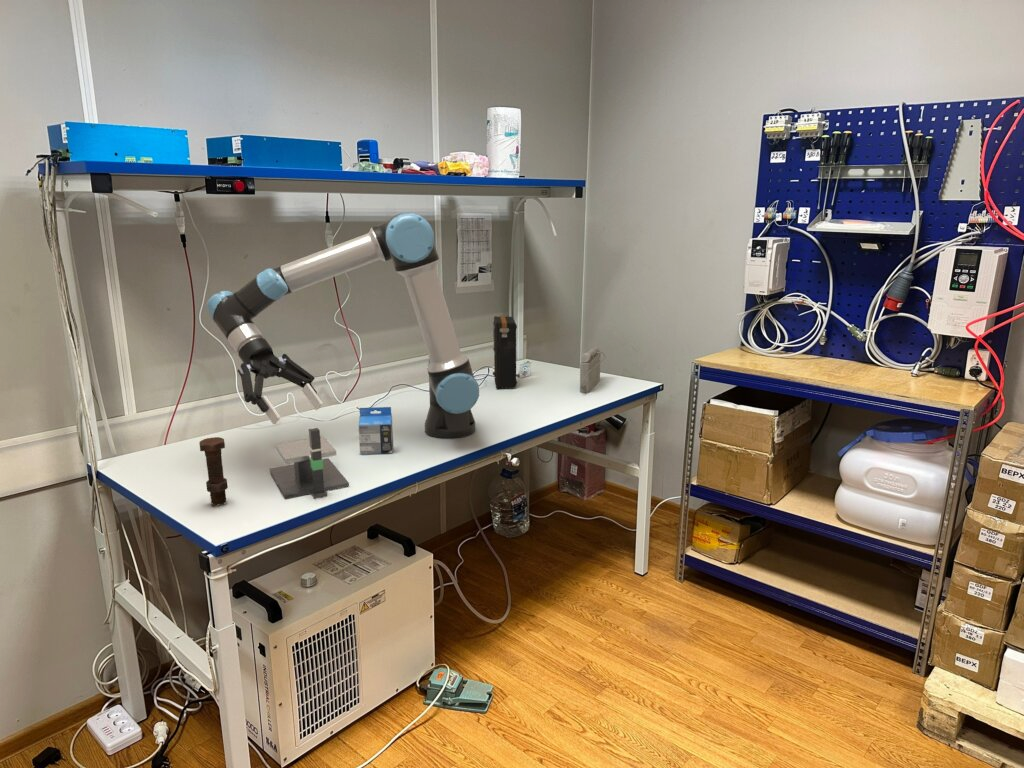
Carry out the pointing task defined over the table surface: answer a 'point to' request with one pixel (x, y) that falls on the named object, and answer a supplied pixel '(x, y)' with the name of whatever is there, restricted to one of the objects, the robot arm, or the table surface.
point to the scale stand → (309, 473)
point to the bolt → (215, 469)
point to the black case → (504, 352)
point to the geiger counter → (590, 369)
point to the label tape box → (375, 430)
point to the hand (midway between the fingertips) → (299, 413)
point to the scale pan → (302, 450)
